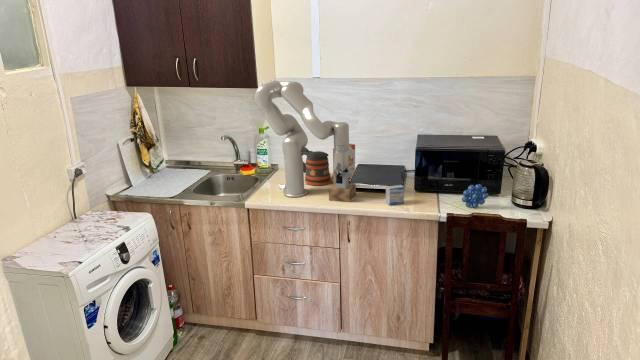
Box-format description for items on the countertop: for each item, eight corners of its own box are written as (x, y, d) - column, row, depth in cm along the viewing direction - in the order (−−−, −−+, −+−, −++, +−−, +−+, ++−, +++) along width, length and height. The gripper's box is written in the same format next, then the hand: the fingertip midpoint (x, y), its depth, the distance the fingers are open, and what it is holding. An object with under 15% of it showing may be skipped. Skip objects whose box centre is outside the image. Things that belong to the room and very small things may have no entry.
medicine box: (389, 205, 228) (389, 188, 226) (385, 202, 232) (385, 186, 230) (404, 203, 230) (404, 186, 228) (400, 200, 234) (400, 184, 232)
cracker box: (342, 186, 257) (341, 149, 251) (333, 184, 261) (332, 148, 254) (356, 179, 268) (355, 143, 261) (347, 178, 271) (346, 142, 265)
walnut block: (329, 200, 238) (328, 189, 236) (335, 193, 248) (335, 182, 246) (350, 202, 234) (349, 191, 232) (355, 194, 244) (355, 183, 242)
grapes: (486, 205, 224) (488, 181, 221) (487, 210, 218) (489, 186, 214) (461, 203, 228) (462, 180, 224) (461, 208, 221) (462, 184, 218)
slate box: (336, 187, 238) (335, 174, 236) (339, 184, 242) (338, 171, 240) (345, 188, 236) (345, 175, 234) (348, 185, 241) (348, 172, 238)
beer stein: (293, 184, 264) (291, 149, 258) (304, 176, 277) (303, 143, 271) (324, 187, 257) (323, 151, 251) (334, 179, 270) (333, 145, 264)
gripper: (339, 143, 242) (340, 174, 247) (328, 151, 226) (329, 185, 232) (353, 143, 239) (353, 175, 245) (343, 152, 224) (344, 186, 229)
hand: (342, 180), depth 238 cm, fingers open, 9 cm apart
